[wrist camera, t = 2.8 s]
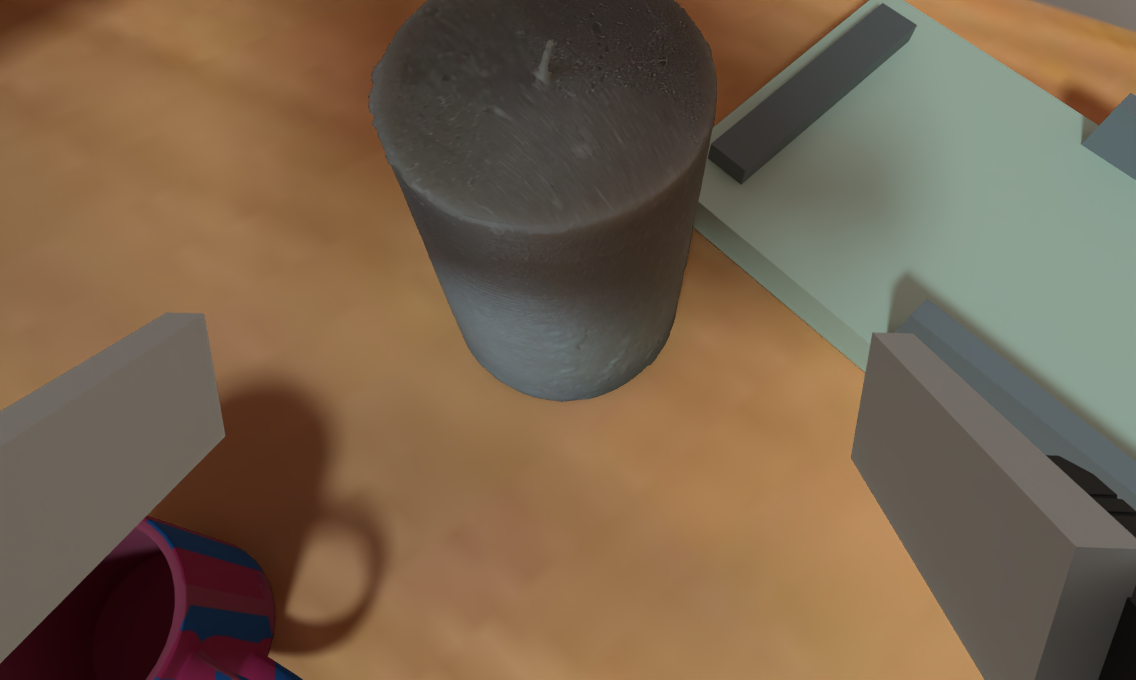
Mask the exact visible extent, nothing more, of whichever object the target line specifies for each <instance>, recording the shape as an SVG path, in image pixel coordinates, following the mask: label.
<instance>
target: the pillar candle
mask: <svg viewBox="0 0 1136 680" xmlns="http://www.w3.org/2000/svg"><path fill="white" fill-rule="evenodd" d="M371 76H372V79H371V80H372V82H373V84H374V85H373V88H372V89H371V92H370V95H369V96H368V97H369V109H370V113H372V115H373V116H374V120H373V124H372V125H373V126H374V127H375V128H376V129H377V131H378V136H379V139H380V141H381V143H382V145H383V149H384V150H385V157H386V158H387V160H388V164H390V165H391V166H392V169H393V171H394V173H395V176H396V178H397V180H398V182H399V184H400V187H401V189H402V191H403V194H404V196H405V199H406V201H407V203H408V206H409V208H410V211H411V214H412V216H413V218H414V221H415V223H416V225H417V228H418V230H419V232H420V235H421V237H422V239H423V242H424V245H425V247H426V249H427V252H428V255H429V258H430V260H431V262H432V265H433V267H434V270H435V272H436V275H437V277H438V279H439V282H440V284H441V287H442V289H443V291H444V293H445V296H446V298H447V301H448V303H449V305H450V307H451V310H452V312H453V315H454V317H455V319H456V321H457V324H458V326H459V328H460V330H461V332H462V335H463V337H464V339H465V342H466V344H467V346H468V348H469V349H470V351H471V353H472V354H473V356H474V357H475V358H476V359H477V361H478V362H479V363H480V364H481V365H482V366H483V367H484V368H485V369H486V370H488V371H489V372H490V373H491V374H492V375H493V376H495V378H497V379H498V380H500V381H501V382H503V383H504V384H506V385H508V386H510V387H512V388H514V389H516V390H517V391H520V392H522V393H524V394H527V395H530V396H533V397H537V398H541V399H547V400H554V401H562V402H563V401H571V400H578V399H590V398H594V397H597V396H600V395H603V394H605V393H608V392H610V391H613V390H615V389H617V388H619V387H620V386H622V385H624V384H626V383H627V382H629V381H630V380H631V379H633V378H634V377H635V376H636V375H638V374H639V373H640V372H642V370H643V369H645V367H647V366H649V365H651V364H652V363H653V361H654V360H655V359H656V358H657V355H658V354H659V353H660V351H661V350H662V348H663V347H664V345H665V344H666V342H667V340H668V337H669V335H670V331H671V328H672V326H673V323H674V320H675V313H676V307H677V303H678V298H679V294H680V290H681V285H682V280H683V273H684V269H685V267H686V263H687V258H688V253H689V247H690V241H691V236H692V230H693V225H694V219H695V214H696V210H697V205H698V200H699V196H700V192H701V186H702V180H703V176H704V171H705V165H706V159H707V155H708V150H709V145H710V139H711V133H712V129H713V125H714V120H715V112H716V100H717V79H716V71H715V65H714V62H713V59H712V54H711V49H710V46H709V44H708V43H707V41H705V39H704V37H703V35H702V33H701V32H700V30H699V29H698V28H697V27H696V25H695V24H694V22H693V21H692V20H691V18H690V17H689V16H688V14H687V13H686V11H685V10H684V9H683V8H681V7H680V5H679V4H678V3H677V2H675V1H674V0H428V1H427V2H425V3H424V4H423V5H422V6H421V7H420V8H419V9H418V10H417V11H416V12H415V13H414V14H413V15H412V16H411V17H410V18H409V19H407V20H406V21H405V23H404V24H403V25H402V27H401V28H400V29H399V30H398V31H397V33H396V34H395V36H394V38H393V40H392V42H391V43H390V44H389V46H388V48H387V50H386V53H385V54H384V56H383V58H382V59H381V61H379V62H378V63H377V66H375V67H374V70H373V72H372V75H371Z"/></svg>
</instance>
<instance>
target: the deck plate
mask: <svg viewBox="0 0 1136 680" xmlns="http://www.w3.org/2000/svg"><path fill="white" fill-rule="evenodd" d="M693 227H694V228H695V229H696V230H697V231H699V232H700V233H701V234H702V235H703V236H704V237H706V238H707V239H708V240H709V241H710V242H712V243H713V244H714V245H715V246H716V247H717V248H719V249H720V250H721V251H722V252H723V253H725V254H726V255H727V256H728V257H729V258H730V259H732V260H733V261H734V262H735V263H736V264H738V265H739V266H740V267H741V268H742V269H743V270H745V271H746V272H747V273H748V274H749V275H751V276H752V277H753V278H754V279H755V280H756V281H758V282H759V283H760V284H761V285H762V286H764V287H765V288H766V289H767V290H768V291H769V292H771V293H772V294H773V295H774V296H775V297H777V298H778V299H779V300H780V301H781V302H782V303H784V304H785V305H786V306H787V307H788V308H790V309H791V310H792V311H793V312H794V313H796V314H797V315H798V316H799V317H800V318H801V319H803V320H804V321H805V322H806V323H807V324H809V325H810V326H811V327H812V328H813V329H814V330H816V331H817V332H818V333H819V334H820V335H822V336H823V337H824V338H825V339H826V340H827V341H829V342H830V343H831V344H832V345H833V346H835V347H836V348H837V349H838V350H839V351H840V352H842V353H843V354H844V355H845V356H846V357H848V358H849V359H850V360H851V361H852V362H853V363H855V364H856V365H857V366H858V367H859V368H861V369H862V370H863V371H864V372H866V366H867V361H868V355H869V349H870V343H871V337H872V332H880V333H913V334H914V335H915V336H916V337H917V338H918V339H920V340H921V341H922V342H923V343H924V344H925V345H926V346H927V347H928V348H929V349H930V350H932V351H933V352H934V353H935V354H936V355H937V356H938V357H939V358H940V359H941V360H942V361H943V362H945V363H946V364H947V365H948V366H949V367H950V368H951V369H952V370H953V371H954V372H955V373H957V374H958V375H959V376H960V377H961V378H962V379H963V380H964V381H965V382H966V383H967V384H969V385H970V386H971V387H972V388H973V389H974V390H975V391H976V392H977V393H978V394H979V395H981V396H982V397H983V398H984V399H985V400H986V401H987V402H988V403H989V404H990V405H991V406H993V407H994V408H995V409H996V410H997V411H998V412H999V413H1000V414H1001V415H1002V416H1003V417H1004V418H1006V419H1007V420H1008V421H1009V422H1010V423H1011V424H1012V425H1013V426H1014V427H1015V428H1016V429H1018V430H1019V431H1020V432H1021V433H1022V434H1023V435H1024V436H1025V437H1026V438H1027V439H1028V440H1030V441H1031V442H1032V443H1033V444H1034V445H1035V446H1036V447H1037V448H1038V449H1039V450H1040V451H1042V452H1043V453H1044V454H1045V455H1057V456H1060V457H1062V458H1064V459H1066V460H1068V461H1070V462H1072V463H1074V464H1075V465H1077V466H1079V467H1081V468H1083V469H1085V470H1087V471H1089V472H1091V473H1092V474H1094V475H1095V476H1096V477H1097V478H1098V479H1100V480H1101V481H1102V482H1103V483H1104V484H1105V485H1107V486H1108V487H1109V488H1110V489H1111V490H1112V491H1113V492H1115V493H1116V494H1117V498H1118V499H1123V500H1124V501H1125V502H1126V503H1127V504H1128V505H1130V506H1131V507H1132V508H1133V509H1134V510H1135V511H1136V96H1135V95H1133V94H1132V93H1130V94H1129V95H1128V96H1127V97H1126V98H1125V99H1124V100H1123V101H1122V102H1121V103H1120V104H1119V105H1118V106H1117V107H1116V108H1115V109H1114V110H1113V112H1112V113H1111V114H1110V115H1109V116H1108V117H1107V118H1106V119H1105V120H1104V121H1103V122H1102V123H1101V124H1100V125H1097V124H1096V123H1094V122H1093V121H1091V120H1090V119H1088V118H1086V117H1085V116H1083V115H1082V114H1080V113H1079V112H1077V111H1075V110H1074V109H1072V108H1071V107H1069V106H1068V105H1066V104H1065V103H1063V102H1061V101H1060V100H1058V99H1057V98H1055V97H1054V96H1052V95H1050V94H1049V93H1047V92H1046V91H1044V90H1043V89H1041V88H1040V87H1038V86H1036V85H1035V84H1033V83H1032V82H1030V81H1029V80H1027V79H1025V78H1024V77H1022V76H1021V75H1019V74H1018V73H1016V72H1015V71H1013V70H1011V69H1010V68H1008V67H1007V66H1005V65H1004V64H1002V63H1000V62H999V61H997V60H996V59H994V58H993V57H991V56H990V55H988V54H986V53H985V52H983V51H982V50H980V49H979V48H977V47H975V46H974V45H972V44H971V43H969V42H968V41H966V40H965V39H963V38H961V37H960V36H958V35H957V34H955V33H954V32H952V31H950V30H949V29H947V28H946V27H944V26H943V25H941V24H940V23H938V22H936V21H935V20H933V19H932V18H930V17H929V16H927V15H925V14H924V13H922V12H921V11H919V10H918V9H916V8H915V7H913V6H911V5H910V4H908V3H907V2H905V1H904V0H869V1H868V2H866V3H865V4H864V5H863V6H862V7H860V8H859V9H858V10H857V11H855V12H854V13H853V14H852V15H851V16H849V17H848V18H847V19H846V20H844V21H843V22H842V23H841V24H839V25H838V26H837V27H836V28H835V29H833V30H832V31H831V32H830V33H828V34H827V35H826V36H825V37H824V38H822V39H821V40H820V41H819V42H817V43H816V44H815V45H814V46H812V47H811V48H810V49H809V50H808V51H806V52H805V53H804V54H803V55H801V56H800V57H799V58H798V59H796V60H795V61H794V62H793V63H792V64H790V65H789V66H788V67H787V68H785V69H784V70H783V71H782V72H781V73H779V74H778V75H777V76H776V77H774V78H773V79H772V80H771V81H769V82H768V83H767V84H766V85H765V86H763V87H762V88H761V89H760V90H758V91H757V92H756V93H755V94H753V95H752V96H751V97H750V98H749V99H747V100H746V101H745V102H744V103H742V104H741V105H740V106H739V107H738V108H736V109H735V110H734V111H733V112H731V113H730V114H729V115H728V116H726V117H725V118H724V119H723V120H722V121H720V122H719V123H718V124H717V125H715V126H714V127H713V129H712V133H711V139H710V145H709V150H708V155H707V159H706V165H705V171H704V176H703V180H702V186H701V192H700V196H699V200H698V205H697V210H696V214H695V219H694V225H693Z"/></svg>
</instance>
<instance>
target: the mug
mask: <svg viewBox="0 0 1136 680" xmlns="http://www.w3.org/2000/svg"><path fill="white" fill-rule="evenodd" d="M274 622H275V610H274V600H273V595H272V591H271V587H270V585H269V582H268V580H267V578H266V576H265V574H264V572H263V571H262V569H261V568H260V566H259V565H258V564H257V562H256V561H255V560H254V559H253V558H252V557H250V556H249V555H248V554H247V553H246V552H245V551H243V550H241V549H240V548H238V547H236V546H234V545H232V544H229V543H226V542H223V541H220V540H217V539H214V538H211V537H208V536H205V535H202V534H200V533H197V532H194V531H191V530H188V529H185V528H182V527H179V526H176V525H173V524H170V523H167V522H164V521H161V520H158V519H155V518H152V517H149V516H146V517H145V518H144V519H143V520H142V521H141V522H140V523H139V524H138V525H137V526H136V527H135V528H134V529H133V530H132V531H131V532H130V533H129V534H128V535H127V536H126V537H125V538H124V539H123V540H122V541H121V542H120V543H119V544H118V545H117V546H116V547H115V548H114V549H113V550H112V551H111V552H110V553H109V554H108V555H107V556H106V557H105V558H104V559H103V560H102V561H101V562H100V563H99V564H98V565H97V566H96V567H95V568H94V569H93V570H92V571H91V572H90V573H89V574H88V575H87V576H86V577H85V578H84V579H83V580H82V581H81V582H80V583H79V585H78V586H77V587H76V588H75V589H74V590H73V591H72V592H71V593H70V594H69V595H68V596H67V597H66V598H65V599H64V600H63V601H62V602H61V603H60V604H59V605H58V606H57V607H56V608H55V609H54V610H53V611H52V612H51V613H50V614H49V615H48V616H47V617H46V618H45V619H44V620H43V621H42V622H41V623H40V624H39V625H38V626H37V627H36V628H35V629H34V630H33V631H32V632H31V633H30V634H29V635H28V636H27V637H26V638H25V639H24V640H23V641H22V642H21V643H20V644H19V645H18V646H17V647H16V648H15V649H14V650H13V651H12V652H11V653H10V654H9V655H8V656H7V657H6V658H5V659H4V660H3V661H2V662H1V663H0V680H303V679H301V678H300V677H298V676H297V675H295V674H294V673H292V672H291V671H289V670H288V669H286V668H284V667H283V666H281V665H280V664H278V663H277V662H275V661H274V660H272V659H271V658H269V657H267V654H268V652H269V648H270V644H271V641H272V637H273V631H274Z"/></svg>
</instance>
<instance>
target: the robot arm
mask: <svg viewBox="0 0 1136 680" xmlns="http://www.w3.org/2000/svg"><path fill="white" fill-rule="evenodd" d="M224 437H225V430H224V425H223V419H222V413H221V408H220V402H219V396H218V390H217V385H216V379H215V373H214V368H213V362H212V356H211V351H210V345H209V339H208V334H207V328H206V322H205V316H204V314H195V313H165V314H163V315H162V316H160V317H158V318H157V319H155V320H153V321H152V322H150V323H148V324H147V325H145V326H143V327H142V328H140V329H138V330H137V331H135V332H133V333H131V334H130V335H128V336H126V337H125V338H123V339H121V340H120V341H118V342H116V343H115V344H113V345H111V346H110V347H108V348H106V349H104V350H103V351H101V352H99V353H98V354H96V355H94V356H93V357H91V358H89V359H88V360H86V361H84V362H83V363H81V364H79V365H78V366H76V367H74V368H72V369H71V370H69V371H67V372H66V373H64V374H62V375H61V376H59V377H57V378H56V379H54V380H52V381H51V382H49V383H47V384H45V385H44V386H42V387H40V388H39V389H37V390H35V391H34V392H32V393H30V394H29V395H27V396H25V397H24V398H22V399H20V400H19V401H17V402H15V403H13V404H12V405H10V406H8V407H7V408H5V409H3V410H2V411H0V663H1V662H2V661H3V660H4V659H5V658H6V657H7V656H8V655H9V654H10V653H11V652H12V651H13V650H14V649H15V648H16V647H17V646H18V645H19V644H20V643H21V642H22V641H23V640H24V639H25V638H26V637H27V636H28V635H29V634H30V633H31V632H32V631H33V630H34V629H35V628H36V627H37V626H38V625H39V624H40V623H41V622H42V621H43V620H44V619H45V618H46V617H47V616H48V615H49V614H50V613H51V612H52V611H53V610H54V609H55V608H56V607H57V606H58V605H59V604H60V603H61V602H62V601H63V600H64V599H65V598H66V597H67V596H68V595H69V594H70V593H71V592H72V591H73V590H74V589H75V588H76V587H77V586H78V585H79V583H80V582H81V581H82V580H83V579H84V578H85V577H86V576H87V575H88V574H89V573H90V572H91V571H92V570H93V569H94V568H95V567H96V566H97V565H98V564H99V563H100V562H101V561H102V560H103V559H104V558H105V557H106V556H107V555H108V554H109V553H110V552H111V551H112V550H113V549H114V548H115V547H116V546H117V545H118V544H119V543H120V542H121V541H122V540H123V539H124V538H125V537H126V536H127V535H128V534H129V533H130V532H131V531H132V530H133V529H134V528H135V527H136V526H137V525H138V524H139V523H140V522H141V521H142V520H143V519H144V518H145V517H146V516H147V515H148V514H149V513H150V512H151V511H152V510H153V509H154V508H155V507H156V506H157V505H158V504H159V503H160V502H161V501H162V500H163V499H164V498H165V497H166V496H167V495H168V494H169V493H170V492H171V491H172V490H173V489H174V488H175V487H176V486H177V485H178V484H179V483H180V482H181V481H182V480H183V479H184V478H185V476H186V475H187V474H188V473H189V472H190V471H191V470H192V469H193V468H194V467H195V466H196V465H197V464H198V463H199V462H200V461H201V460H202V459H203V458H204V457H205V456H206V455H207V454H208V453H209V452H210V451H211V450H212V449H213V448H214V447H215V446H216V445H217V444H218V443H219V442H220V441H221V440H222V439H223V438H224ZM851 459H852V460H853V462H854V464H855V465H856V467H857V469H858V470H859V472H860V474H861V475H862V477H863V479H864V480H865V482H866V484H867V485H868V487H869V489H870V490H871V492H872V494H873V495H874V497H875V499H876V500H877V502H878V504H879V505H880V507H881V509H882V510H883V512H884V514H885V515H886V517H887V519H888V520H889V522H890V524H891V525H892V527H893V528H894V530H895V532H896V533H897V535H898V537H899V538H900V540H901V542H902V543H903V545H904V547H905V548H906V550H907V552H908V553H909V555H910V557H911V558H912V560H913V562H914V563H915V565H916V567H917V568H918V570H919V572H920V573H921V575H922V577H923V578H924V580H925V582H926V583H927V585H928V587H929V588H930V590H931V592H932V593H933V595H934V597H935V598H936V600H937V601H938V603H939V605H940V606H941V608H942V610H943V611H944V613H945V615H946V616H947V618H948V620H949V621H950V623H951V625H952V626H953V628H954V630H955V631H956V633H957V635H958V636H959V638H960V640H961V641H962V643H963V645H964V646H965V648H966V650H967V651H968V653H969V655H970V656H971V658H972V660H973V661H974V663H975V665H976V666H977V668H978V669H979V671H980V673H981V674H982V676H983V678H984V679H985V680H1136V511H1135V510H1134V509H1133V508H1132V507H1131V506H1130V505H1128V504H1127V503H1126V502H1125V501H1124V500H1123V499H1118V498H1117V494H1116V493H1115V492H1113V491H1112V490H1111V489H1110V488H1109V487H1108V486H1107V485H1105V484H1104V483H1103V482H1102V481H1101V480H1100V479H1098V478H1097V477H1096V476H1095V475H1094V474H1092V473H1091V472H1089V471H1087V470H1085V469H1083V468H1081V467H1079V466H1077V465H1075V464H1074V463H1072V462H1070V461H1068V460H1066V459H1064V458H1062V457H1060V456H1057V455H1045V454H1044V453H1043V452H1042V451H1040V450H1039V449H1038V448H1037V447H1036V446H1035V445H1034V444H1033V443H1032V442H1031V441H1030V440H1028V439H1027V438H1026V437H1025V436H1024V435H1023V434H1022V433H1021V432H1020V431H1019V430H1018V429H1016V428H1015V427H1014V426H1013V425H1012V424H1011V423H1010V422H1009V421H1008V420H1007V419H1006V418H1004V417H1003V416H1002V415H1001V414H1000V413H999V412H998V411H997V410H996V409H995V408H994V407H993V406H991V405H990V404H989V403H988V402H987V401H986V400H985V399H984V398H983V397H982V396H981V395H979V394H978V393H977V392H976V391H975V390H974V389H973V388H972V387H971V386H970V385H969V384H967V383H966V382H965V381H964V380H963V379H962V378H961V377H960V376H959V375H958V374H957V373H955V372H954V371H953V370H952V369H951V368H950V367H949V366H948V365H947V364H946V363H945V362H943V361H942V360H941V359H940V358H939V357H938V356H937V355H936V354H935V353H934V352H933V351H932V350H930V349H929V348H928V347H927V346H926V345H925V344H924V343H923V342H922V341H921V340H920V339H918V338H917V337H916V336H915V335H914V334H913V333H880V332H872V337H871V343H870V349H869V355H868V361H867V366H866V372H865V378H864V384H863V390H862V395H861V401H860V407H859V413H858V419H857V425H856V430H855V436H854V442H853V448H852V454H851Z"/></svg>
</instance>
